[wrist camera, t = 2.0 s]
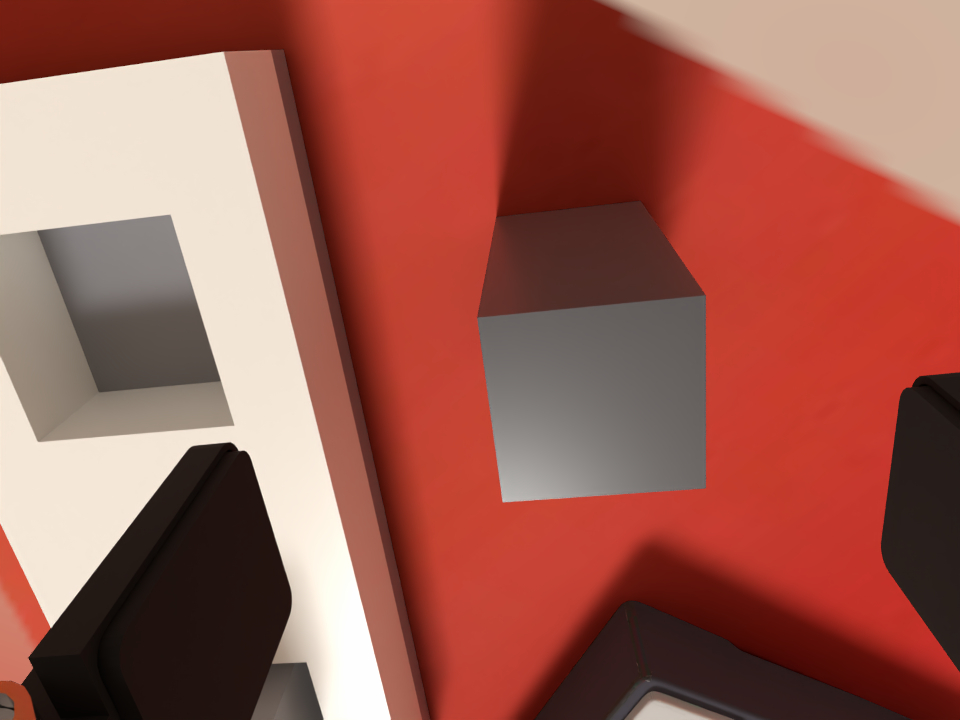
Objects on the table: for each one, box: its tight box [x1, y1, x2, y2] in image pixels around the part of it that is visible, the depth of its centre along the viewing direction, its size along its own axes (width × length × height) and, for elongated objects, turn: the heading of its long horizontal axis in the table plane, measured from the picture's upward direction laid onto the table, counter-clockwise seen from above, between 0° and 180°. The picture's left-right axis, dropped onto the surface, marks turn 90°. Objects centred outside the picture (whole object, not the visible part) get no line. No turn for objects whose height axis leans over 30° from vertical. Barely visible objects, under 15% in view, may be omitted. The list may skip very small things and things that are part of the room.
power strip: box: [0, 49, 430, 720], centre depth 22 cm, size 10×26×4 cm, turn 7°
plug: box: [477, 201, 706, 502], centre depth 17 cm, size 4×4×8 cm
